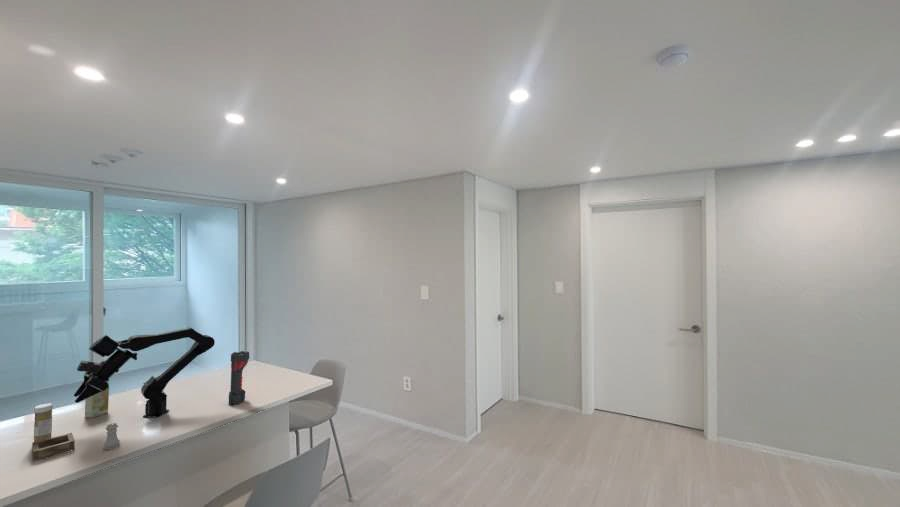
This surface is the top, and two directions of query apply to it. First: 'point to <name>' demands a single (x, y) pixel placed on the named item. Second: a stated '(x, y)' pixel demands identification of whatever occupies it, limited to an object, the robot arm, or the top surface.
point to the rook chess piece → (111, 437)
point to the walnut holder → (53, 446)
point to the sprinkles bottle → (43, 422)
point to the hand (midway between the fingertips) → (75, 399)
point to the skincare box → (97, 404)
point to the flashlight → (237, 376)
